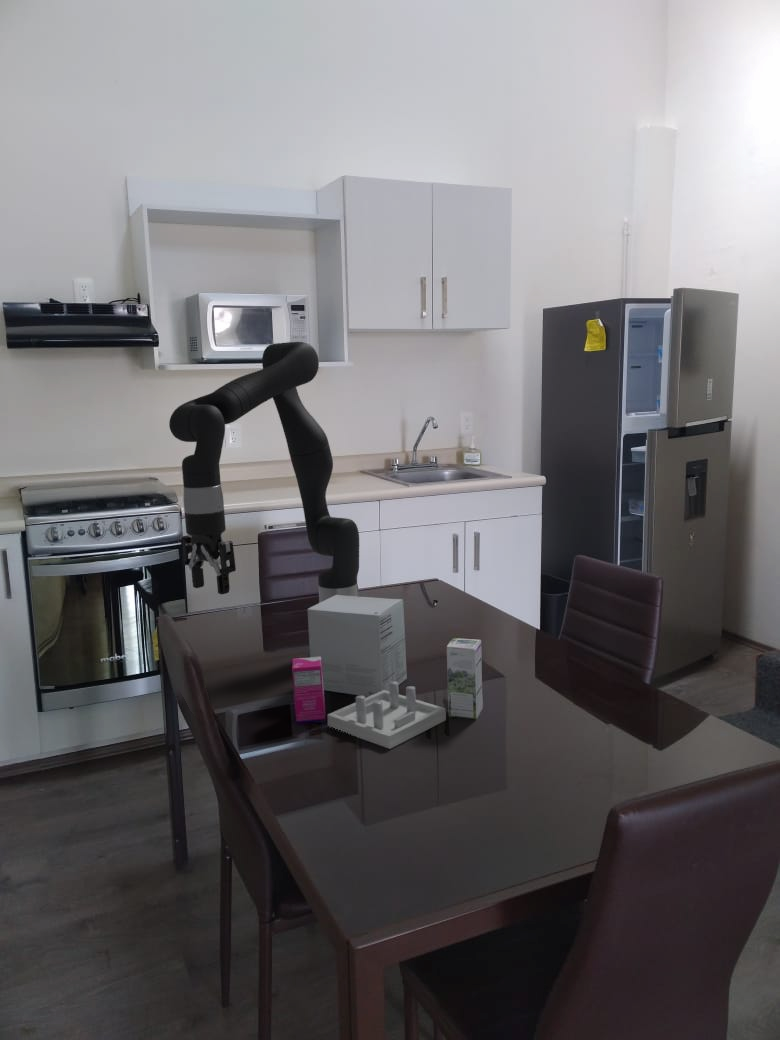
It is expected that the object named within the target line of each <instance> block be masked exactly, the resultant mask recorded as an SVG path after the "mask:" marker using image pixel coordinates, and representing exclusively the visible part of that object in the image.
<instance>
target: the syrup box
mask: <svg viewBox="0 0 780 1040" xmlns="http://www.w3.org/2000/svg"><path fill="white" fill-rule="evenodd" d="M482 655H483V654H482V640H481V639H473V638H472V639H470V638H457V637H456V638H455V637H454V638H452V639H451V640H450V641H449V643H448V644H447V645H446V667H447V669H446V670H447V671H446V673H447V699H448V702H447V704H448V717H450V718H461V719H470V720H477V719H478V717H479V716H480V714H481V713H482V711H483V709H484V708H483V707H484V702H483V677H482V675H483V673H482V669H483V666H482V664H483V663H482V662H483V661H482V657H483V656H482Z"/></svg>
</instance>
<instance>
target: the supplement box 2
mask: <svg viewBox="0 0 780 1040" xmlns="http://www.w3.org/2000/svg"><path fill="white" fill-rule="evenodd" d="M404 610H405V609H404V599H402V598H401V599H400V598H384V597H372V596H371V597H370V596H358V597H357V596H344V595H335V596H333V597H331V598H329V599H327V600H325V601H323V602H320V603H319V602H318V603H316V604H314V605H313V606H310V607H309V608H307V609H306V611H307V623H308V624H307V626H308V627H307V629H308V643H309V658H310V657H321V665H322V677H323V689H324V691H328V692H333V693H334V692H335V693H341V694H348V695H354V696H361V695H362V696H365V697H366V698H367V697H369V696H371V695H374V694H376V693H378V692H380V691H383V690H386V691H389V682H392V681H396V682H398V686H399V685H401V684H402V683H404V681H406V680H407V679H408V677H407V657H406V655H407V653H406V652H407V651H406V631H405V612H404Z"/></svg>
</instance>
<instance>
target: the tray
mask: <svg viewBox="0 0 780 1040" xmlns="http://www.w3.org/2000/svg"><path fill="white" fill-rule="evenodd" d="M446 711H447V710H446V707H442V706H439V705H436V704H432V703H429V702H426V701H423V700H419V699H416V686H412V685H411V686H410V685H409V686H406V687H405V695H402V694H400V693H399V685H398V682H396V681H392V682H389V691H386V690H383V691H380V692H378V693H376V694H374V695H371V696H369V697H367V696H362V695H361V696H360V695H356V696H355V702H353V703H351V704H349V705H346V706H344V707H341V708H339V709H337V710H335V711H333V712H330V713H328V714H327V715H326V716H327V727H328V726H330V727H329V728H331V727H333V728H335V729H334V730H336V729H338V730H337V731H339V730H341V731H340V732H342V731H343V732H342V733H344V732H346V733H345V734H347V733H348V735H350V734H351V736H353V737H355V736H356V738H358V739H362V740H364V741H367V742H370V743H373V744H375V745H378V746H380V747H384V748H386V749H394V748H395V747H397V746H399V745H400V744H402V743H405V742H406V741H408V740H411V739H412V738H415V737H416V736H418V735H420V734H421V733H424V732H426V731H428V730H429V729H431V728H432V729H433V728H434V727H435V726H438V725H439V724H441V723H443V722H445V721H446V720H447V719H446V718H447V716H446ZM333 728H332V729H333Z"/></svg>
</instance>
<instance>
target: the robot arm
mask: <svg viewBox="0 0 780 1040" xmlns="http://www.w3.org/2000/svg"><path fill="white" fill-rule="evenodd" d="M261 364H262V365H261V366H262V369H260V370H257V371H254V372H251V373H250V372H249V373H248V374H244V375H241V376H239V377H237V378H235V379H232V380H230V381H229V382H227V383H225V384H223V385H222V386H220V387H219V388H217V389H215V390H214V391H212V392H211V393H208V394H205V395H201V396H199V397H197V398H195V399H194V398H193V399H191V400H188V401H186V402H184V403H182V404H181V405H179V406H178V407H176V409H174V410H173V412H172V414H171V416H170V418H169V422H168V423H169V430H170V432H171V434H172V436H173V437H174V438H176V439H177V440H178V441H181V442H185V443H195V444H196V445H195V447H194V448H195V449H194V453H193V454H190V455H187V456H185V457H184V458H183V459H182V462H181V470H182V471H181V473H182V483H183V510H184V523H185V530H186V531H185V532H186V534H187V535H183V536H182V538H181V539H182V540H181V542H182V560H183V561H182V562H183V564H184V566H188V568H189V570H190V572H191V581H192V587H193V588H194V589H200V588H203V587H204V586H205V577H204V568H202V567H203V566H204V563H205V562H207V563H208V564H209V566H210V567H212V568H213V569H214V572H215V574H216V583H217V593H218V595H226V594H228V593H230V588H231V587H230V577H229V576H230V575H229V574H230V573H233V572H236V566H237V565H236V559H235V551H234V543H233V541H232V540H228V541H223V537H222V535H223V533H225V532H226V528H227V527H226V519H225V518H226V515H225V506H224V505H225V504H224V495H223V490H222V489H223V488H222V485H221V484H222V483H221V472H220V461H221V456H222V452H223V451H222V450H223V445H224V438H225V433H226V425H228V424H231V423H234V422H236V421H238V420H240V419H241V418H242V417H244V416H245V415H246V414H248V413H249V412H250V411H253V410H254V409H256V408H257V407H259V406H260V405H263V404H264V403H265V402H267V401H269V400H271V399H272V400H273V403H274V405H275V408H276V411H277V414H278V417H279V421H280V424H281V426H282V430H283V433H284V437H285V441H286V445H287V448H288V449H287V450H288V453H289V458H290V461H291V464H292V468H293V471H294V475H295V478H296V482H297V486H298V490H299V494H300V499H301V504H302V509H303V515H304V521H305V527H306V533H307V534H306V535H307V538H308V539H307V540H308V542H309V546H310V547H311V549H312V550H313V552H315V553H316V554H318V555H321V556H329V557H332V566H331V567H330V568H328V569H324V570H321V572H319V573H318V577H317V581H318V583H317V585H318V601H319V602H318V603H320V602H323V601H325V600H327V599H329V598H331V597H333V596H335V595H344V596H357V597H359V595H358V574H359V571H360V531H359V527H358V525H357V523H356V522H355V521H354V520H352V519H351V518H346V517H335V516H333V517H332V516H331V515H330V512H329V508H328V505H327V497H326V495H327V494H326V493H327V488H328V486H329V483H330V480H331V478H332V473H333V469H334V460H333V454H332V451H331V447H330V444H329V440H328V435H327V434H326V433H325V430H324V429H323V428H322V426H321V425H320V424H319V423H318V422H317V420H316V419H315V418H314V416H312V415H311V413H310V412H309V411H308V409H307V408H305V407H306V406H304V403H303V402H302V400H301V398H300V395H299V392H298V389H297V387H299V386H302V385H306V384H307V383H310V382H311V381H313V380H314V378H316V375H317V374H318V371H319V364H320V362H319V356H318V353H317V351H316V349H315V348H314V347H313V345H311V344H310V343H308V342H303V341H291V342H290V341H289V342H276V343H273V344H269V345H267V346H266V348H265V349H264V351H263V353H262V359H261ZM189 554H190V556H189ZM228 563H229V564H228Z"/></svg>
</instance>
